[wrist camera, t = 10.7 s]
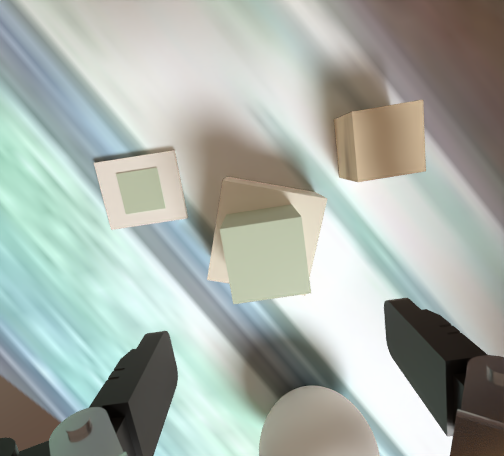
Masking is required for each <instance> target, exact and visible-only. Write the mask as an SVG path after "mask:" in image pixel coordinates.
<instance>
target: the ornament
mask: <svg viewBox="0 0 504 456" xmlns="http://www.w3.org/2000/svg"><path fill="white" fill-rule="evenodd" d="M259 456H380V455H379V450H378V446H377V443H376V440H375V437H374V434H373V432H372V430H371V428H370V426H369V424H368V423H367V421H366V420H365V418H364V417H363V415H362V414H361V413H360V411H359V410H358V409H357V408H356V407H355V406H354V405H353V404H352V403H351V402H350V401H349V400H348V399H347V398H345V397H344V396H343V395H341V394H339V393H338V392H336V391H334V390H331V389H329V388H326V387H322V386H314V385H310V386H303V387H299V388H296V389H294V390H292V391H290V392H288V393H286V394H285V395H284V396H282V397H281V398H280V399H279V400H278V401H277V402H276V403H275V405H274V406H273V407H272V409H271V410H270V412H269V414H268V416H267V418H266V420H265V422H264V425H263V428H262V432H261V436H260V443H259Z"/></svg>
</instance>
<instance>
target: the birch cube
mask: <svg viewBox="0 0 504 456" xmlns="http://www.w3.org/2000/svg"><path fill="white" fill-rule="evenodd" d="M334 126H335V136H336V147H337V157H338V167H339V177H340V178H343V179H347V180H351V181H355V182H362V181H368V180H374V179H381V178H387V177H393V176H399V175H405V174H412V173H418V172H424V171H426V164H425V138H424V112H423V100H418V101H412V102H406V103H400V104H394V105H388V106H383V107H377V108H371V109H365V110H359V111H353V112H350V113H348V114H345V115H343V116H341V117H338V118H336V119H334Z"/></svg>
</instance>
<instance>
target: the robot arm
mask: <svg viewBox="0 0 504 456" xmlns="http://www.w3.org/2000/svg"><path fill="white" fill-rule="evenodd" d="M384 314H385V328H386V341H387V346H388V349H389V352H390V354H391V356H392V358H393V360H394V361H395V362H396V364H397V365H398V367H399V368H400V370H401V371H402V372H403V374H404V375H405V377H406V378H407V380H408V381H409V382H410V384H411V385H412V387H413V388H414V390H415V391H416V393H417V394H418V395H419V397H420V398H421V400H422V401H423V403H424V404H425V405H426V407H427V408H428V410H429V411H430V413H431V414H432V415H433V417H434V418H435V420H436V421H437V423H438V424H439V425H440V427H441V428H442V430H443V431H444V433H445V434H446V435H447V436H453V440H452V446H451V452H450V456H504V357H499V356H492V355H487V354H486V353H485V352H484V351H482V350H481V349H480V348H479V347H478V346H476V345H475V344H474V343H473V342H472V341H470V340H469V339H468V338H467V337H466V336H465V335H463V334H462V333H460V332H459V330H457V329H456V328H455V327H454V326H451V324H450V323H449V322H448V321H447V320H445V319H444V318H443V317H442V316H440V315H438V314H436V313H434V312H431V311H429V310H427V309H424V310H421V309H420V308H419V307H417V306H416V305H415V304H414V303H413V302H412V301H411V300H410V299H408V298H401V299H394V300H387V301H385V303H384ZM177 380H178V372H177V366H176V361H175V357H174V353H173V348H172V344H171V340H170V336H169V333H168V332H167V331H162V332H155V333H148V334H145V336H144V337H143V339H142V340H141V342H140V344H139V345H138V347H137V349H132V350H131V351H130V352H128V353H127V354H126V355H125V356H124V357H123V358H121V359H120V361H119V362H118V364H117V365H116V367H115V368H114V371H113V372H112V373H111V375H110V376H109V378H108V380H107V381H106V382H105V384H104V385H103V387H102V388H101V390H100V391H99V393H98V394H97V396H96V397H95V399H94V400H93V402H92V403H91V405H90V407H89V408H86V409H83V410H81V411H78V412H76V413H74V414H73V415H71V416H69V417H68V418H66V419H65V420H64V421H63V422H61V423H60V424H59V425H58V426H57V428H56V429H55V430H54V431H53V433H52V435H51V437H50V439H49V441H46V442H44V443H41V444H38V445H36V446H33V447H31V448H28V449H25V450H23V451H20V452H19V451H18V448H17V446H16V444H15V441H14V440H13V439H11V438H0V456H153V455H154V452H155V449H156V446H157V443H158V440H159V437H160V434H161V431H162V428H163V425H164V422H165V419H166V416H167V413H168V410H169V407H170V404H171V401H172V398H173V395H174V392H175V389H176V386H177Z"/></svg>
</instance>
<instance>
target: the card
mask: <svg viewBox="0 0 504 456" xmlns="http://www.w3.org/2000/svg"><path fill="white" fill-rule="evenodd" d="M94 165H95V169H96V173H97V177H98V181H99V184H100V188H101V192H102V196H103V200H104V204H105V208H106V212H107V215H108V219H109V223H110V227H111V230H113V229H120V228H127V227H133V226H140V225H146V224H153V223H160V222H166V221H173V220H179V219H186V218H188V214H187V209H186V204H185V199H184V194H183V189H182V184H181V179H180V174H179V169H178V164H177V159H176V154H175V150H173V151H166V152H160V153H154V154H147V155H141V156H135V157H128V158H122V159H116V160H109V161H103V162H97V163H94Z"/></svg>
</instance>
